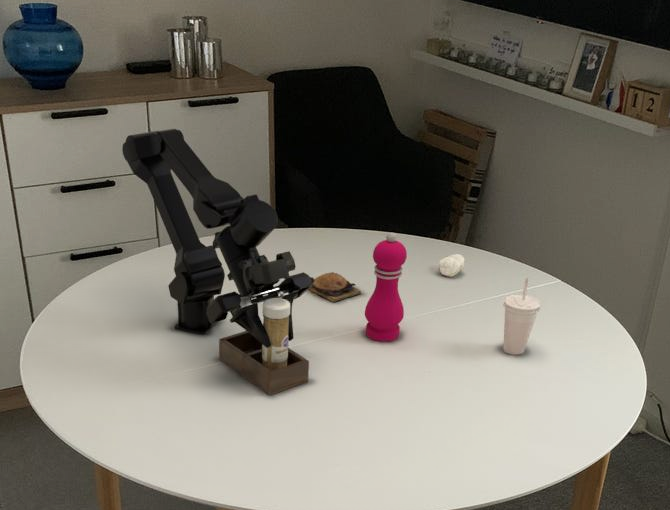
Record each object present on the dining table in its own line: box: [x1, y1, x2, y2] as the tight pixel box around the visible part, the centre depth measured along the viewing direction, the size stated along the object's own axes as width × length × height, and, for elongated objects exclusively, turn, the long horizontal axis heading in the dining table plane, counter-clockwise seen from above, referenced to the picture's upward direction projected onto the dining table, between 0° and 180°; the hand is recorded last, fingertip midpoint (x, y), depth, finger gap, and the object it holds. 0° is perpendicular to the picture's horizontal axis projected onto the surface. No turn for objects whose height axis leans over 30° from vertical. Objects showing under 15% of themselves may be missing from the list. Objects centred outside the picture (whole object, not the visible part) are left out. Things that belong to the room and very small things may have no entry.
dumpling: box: [438, 253, 466, 278], centre depth 192 cm, size 7×5×4 cm
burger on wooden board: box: [308, 271, 362, 303], centre depth 183 cm, size 11×8×4 cm
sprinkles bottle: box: [262, 298, 290, 371], centre depth 148 cm, size 5×5×13 cm
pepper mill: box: [364, 232, 408, 342], centre depth 162 cm, size 7×7×20 cm
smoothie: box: [502, 276, 542, 356], centre depth 158 cm, size 6×6×14 cm
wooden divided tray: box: [218, 330, 310, 396], centre depth 154 cm, size 15×8×4 cm, turn 35°
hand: (280, 343), depth 147 cm, fingers closed on sprinkles bottle, 4 cm apart
